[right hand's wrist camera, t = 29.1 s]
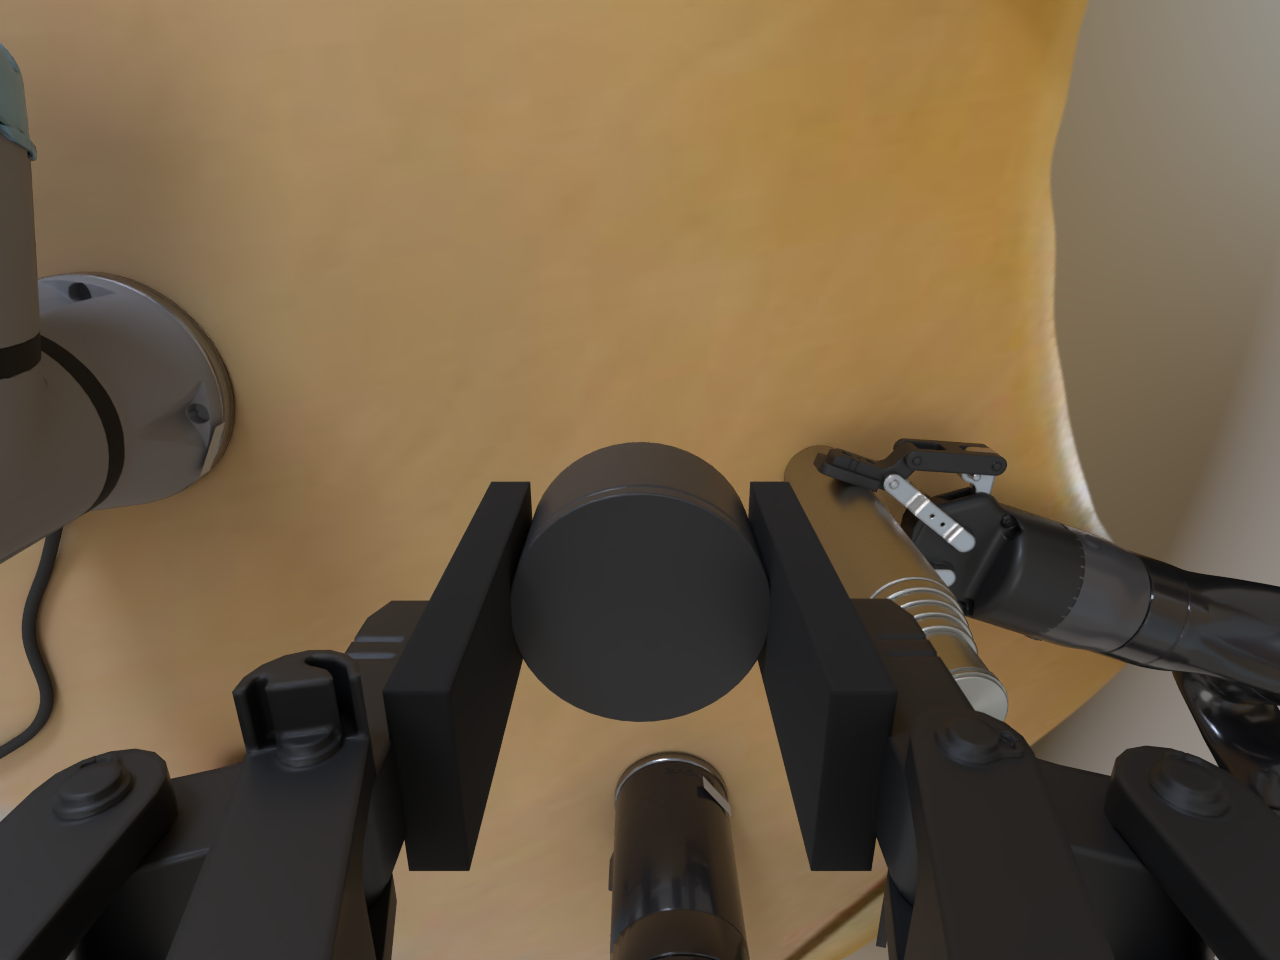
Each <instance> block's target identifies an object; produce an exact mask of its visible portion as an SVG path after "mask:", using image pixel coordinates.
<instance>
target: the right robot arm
mask: <svg viewBox="0 0 1280 960" xmlns="http://www.w3.org/2000/svg"><path fill="white" fill-rule="evenodd" d="M36 158H37V151H36V147H35V145H34V144H33V142H32V141H31V140H30V139H29V129H28V120H27V111H26V102H25V93H24V84H23V78H22V75H21V72H20V69H19V67H18V65H17V63H16V61H15V60H14V58H13V57H12V56H11V54H10V53H9V52H8V51H7V50H6V49H5V47H4V46H3V45H2V44H1V43H0V564H1V563H3V562H4V561H6V560H8V559H9V558H11V557H13V556H14V555H16V554H18V553H19V552H21V551H23V550H24V549H26V548H28V547H29V546H31V545H33V544H35V543H36V542H38V541H40V540H41V539H43V538H45V537H46V539H45V544H44V548H43V552H42V556H41V560H40V564H39V567H38V570H37V573H36V576H35V578H34V581H33V583H32V586H31V589H30V591H29V594H28V597H27V600H26V604H25V608H24V612H23V619H22V638H23V644H24V648H25V652H26V655H27V658H28V661H29V663H30V666H31V668H32V670H33V673H34V675H35V678H36V680H37V683H38V686H39V690H40V706H39V710H38V713H37V715H36V717H35V719H34V721H33V722H32V724H31V725H30V726H29V727H28V728H27V729H26V730H25V731H24V732H23V733H21V734H20V735H19V736H17V737H16V738H14V739H12V740H11V741H9V742H8V743H6V744H4V745H3V746H1V747H0V759H1V758H3V757H4V756H6V755H8V754H9V753H11V752H12V751H14V750H16V749H17V748H19V747H21V746H22V745H24V744H25V743H27V742H28V741H29V740H31V739H32V738H33V737H34V736H35V735H36V734H37V733H38V732H39V731H40V730H41V729H42V727H43V726H44V725H45V723H46V722H47V720H48V718H49V716H50V713H51V710H52V706H53V688H52V684H51V680H50V677H49V674H48V672H47V669H46V667H45V664H44V662H43V659H42V657H41V654H40V651H39V648H38V645H37V640H36V618H37V612H38V608H39V604H40V601H41V598H42V595H43V593H44V590H45V587H46V585H47V582H48V580H49V577H50V575H51V572H52V569H53V565H54V562H55V558H56V554H57V550H58V546H59V542H60V538H61V534H62V530H63V526H65V525H66V524H68V523H70V522H71V521H73V520H75V519H76V518H78V517H79V516H81V515H83V514H85V513H86V512H88V511H93V510H100V509H108V508H116V507H123V506H131V505H138V504H145V503H149V502H153V501H157V500H160V499H163V498H167V497H169V496H172V495H174V494H177V493H179V492H180V491H182V490H184V489H186V488H187V487H189V486H190V485H192V484H193V483H195V482H197V481H198V480H199V479H201V478H202V477H204V476H205V475H206V474H207V473H208V472H209V471H210V470H211V469H212V468H213V467H214V466H215V465H216V464H217V462H218V461H219V460H220V458H221V457H222V455H223V453H224V451H225V449H226V447H227V445H228V442H229V440H230V437H231V433H232V428H233V421H234V401H233V393H232V388H231V383H230V380H229V377H228V374H227V371H226V369H225V366H224V364H223V361H222V359H221V357H220V355H219V354H218V352H217V350H216V348H215V347H214V345H213V343H212V342H211V340H210V339H209V338H208V336H207V335H206V334H205V332H204V331H203V330H202V329H201V327H200V326H199V325H198V324H197V323H196V322H195V321H194V320H193V319H192V318H191V317H190V316H189V315H188V314H187V313H186V312H185V311H184V310H183V309H181V308H180V307H179V306H178V305H177V304H175V303H174V302H172V301H171V300H170V299H168V298H167V297H165V296H164V295H162V294H160V293H159V292H157V291H155V290H154V289H152V288H150V287H148V286H146V285H143V284H141V283H139V282H136V281H134V280H131V279H128V278H124V277H121V276H117V275H112V274H107V273H99V272H76V273H68V274H60V275H53V276H48V277H44V278H40V279H38V278H37V261H36V244H35V226H34V209H33V192H32V175H31V161H35V160H36ZM748 520H749V523H750V526H751V529H752V532H753V535H754V538H755V541H756V544H757V547H758V550H759V553H760V556H761V559H762V562H763V565H764V568H765V570H766V574H767V577H768V581H769V584H770V608H769V622H768V635H767V639H766V642H765V645H764V647H763V649H762V651H761V653H760V655H759V657H758V663H759V667H760V671H761V675H762V679H763V683H764V687H765V691H766V695H767V698H768V702H769V706H770V710H771V714H772V718H773V722H774V726H775V730H776V734H777V738H778V742H779V746H780V750H781V754H782V758H783V762H784V766H785V770H786V773H787V777H788V781H789V785H790V789H791V793H792V797H793V801H794V805H795V809H796V813H797V817H798V821H799V825H800V829H801V833H802V837H803V841H804V845H805V848H806V852H807V856H808V860H809V864H810V868H811V871H871V869H872V862H873V856H874V849H875V843H876V837H877V840H878V842H879V845H880V848H881V851H882V853H883V856H884V859H885V861H886V864H887V867H888V874H887V880H886V886H885V892H884V898H883V905H882V911H881V917H880V923H879V929H878V936H877V943H876V946H879V947H884V948H885V947H886V943H887V944H888V954H889V960H1215V959H1214V957H1215V955H1216V957H1217V958H1218V959H1219V960H1280V817H1279V816H1278V815H1277V814H1276V813H1275V812H1274V811H1273V810H1272V809H1271V808H1270V807H1269V806H1268V805H1266V804H1265V803H1264V802H1263V801H1262V800H1261V799H1260V798H1259V797H1258V796H1257V795H1256V794H1255V793H1254V792H1253V791H1252V790H1251V789H1250V788H1248V787H1247V786H1246V785H1244V784H1243V783H1242V782H1240V781H1239V780H1238V779H1236V778H1235V777H1234V776H1232V775H1231V774H1230V773H1228V772H1227V771H1225V770H1223V769H1221V768H1220V767H1218V766H1216V765H1214V764H1212V763H1210V762H1208V761H1206V760H1204V759H1202V758H1200V757H1197V756H1194V755H1191V754H1189V753H1184V752H1182V751H1177V750H1174V749H1171V748H1163V747H1154V746H1141V747H1136V748H1130V749H1126V750H1125V751H1124V752H1123V753H1122V754H1121V755H1119V756H1118V757H1117V758H1116V760H1115V764H1114V767H1113V771H1112V774H1111V776H1108V775H1103V774H1099V773H1094V772H1090V771H1085V770H1081V769H1076V768H1072V767H1067V766H1062V765H1058V764H1054V763H1051V762H1048V761H1044V760H1041V759H1038V758H1036V757H1035V755H1034V752H1033V751H1032V749H1031V748H1030V746H1029V745H1028V743H1027V742H1026V740H1025V739H1024V737H1023V736H1022V735H1020V734H1019V733H1018V732H1016V731H1015V730H1014V729H1013V728H1011V727H1010V726H1009V725H1008V724H1006V723H1005V722H1003V721H1001V720H998V719H996V718H994V717H992V716H990V715H988V714H986V713H983V712H979V711H975V710H974V708H973V706H972V705H971V703H970V702H969V700H968V699H967V697H966V696H965V694H964V693H963V691H962V690H961V688H960V687H959V685H958V683H957V682H956V680H955V679H954V677H953V676H952V674H951V673H950V671H949V670H948V668H947V667H946V665H945V664H944V662H943V661H942V659H941V657H940V656H937V651H936V650H935V648H934V647H933V645H932V644H931V642H930V641H929V640H927V639H926V634H925V633H924V631H923V630H922V628H921V627H920V625H919V624H918V622H917V621H916V619H915V618H914V616H913V615H912V614H910V613H909V612H907V611H906V610H905V609H903V608H902V607H900V606H899V605H898V604H896V603H895V602H893V601H892V600H891V599H887V598H849V596H848V594H847V592H846V590H845V588H844V586H843V584H842V582H841V580H840V578H839V577H838V575H837V573H836V571H835V569H834V567H833V565H832V563H831V561H830V559H829V557H828V555H827V554H826V552H825V550H824V548H823V546H822V544H821V542H820V540H819V538H818V536H817V534H816V533H815V531H814V529H813V527H812V525H811V523H810V521H809V519H808V517H807V515H806V513H805V511H804V510H803V508H802V506H801V504H800V502H799V500H798V498H797V496H796V494H795V492H794V490H793V488H792V487H791V485H790V483H789V482H750V497H749V514H748ZM531 523H532V506H531V489H530V482H491V484H490V486H489V487H488V489H487V491H486V493H485V495H484V497H483V499H482V501H481V503H480V505H479V507H478V509H477V510H476V512H475V514H474V516H473V518H472V520H471V522H470V524H469V526H468V528H467V530H466V532H465V533H464V535H463V537H462V539H461V541H460V543H459V545H458V547H457V549H456V551H455V553H454V554H453V556H452V558H451V560H450V562H449V564H448V566H447V568H446V570H445V572H444V574H443V576H442V577H441V579H440V581H439V583H438V585H437V587H436V589H435V591H434V593H433V595H432V597H431V599H430V600H429V601H391V602H389V603H388V604H386V605H385V606H384V607H382V608H381V609H379V610H378V611H377V612H375V613H374V614H372V615H371V616H370V617H368V618H367V620H366V621H365V623H364V624H363V626H362V627H361V629H360V630H359V632H358V634H357V635H356V637H355V641H354V642H352V643H351V644H350V646H349V647H348V649H347V651H346V652H345V654H344V653H340V652H336V651H332V650H308V651H303V652H299V653H294V654H289V655H285V656H282V657H280V658H278V659H275V660H273V661H270V662H268V663H265V664H263V665H261V666H260V667H258V668H257V669H255V670H254V671H252V672H251V673H250V674H248V675H247V676H245V677H244V678H243V679H242V680H241V682H240V683H239V684H238V685H237V687H236V688H235V689H234V690H233V692H232V693H233V697H234V701H235V706H236V710H237V714H238V718H239V722H240V727H241V731H242V735H243V739H244V743H245V748H246V752H247V753H246V756H245V759H244V761H243V762H240V763H236V764H233V765H230V766H226V767H223V768H218V769H214V770H209V771H205V772H200V773H196V774H191V775H186V776H182V777H177V778H173V779H170V775H169V772H168V768H167V765H166V762H165V761H164V760H163V759H162V758H161V757H160V756H159V755H157V754H156V753H155V752H151V751H146V750H140V749H128V750H119V751H110V752H107V753H104V754H100V755H98V756H93V757H91V758H88V759H85V760H82V761H80V762H78V763H76V764H74V765H72V766H70V767H68V768H66V769H64V770H62V771H60V772H58V773H57V774H55V775H54V776H52V777H51V778H50V779H48V780H47V781H46V782H44V783H43V784H42V785H40V786H39V787H38V788H36V789H35V790H34V791H33V792H31V793H30V794H29V795H28V796H27V797H26V798H25V799H24V800H23V801H22V802H21V803H20V804H19V805H18V806H17V807H16V808H15V809H14V810H13V811H11V812H10V813H9V814H8V815H7V816H6V817H5V818H4V819H3V820H2V821H1V822H0V960H66V959H67V960H391V956H392V945H393V935H394V925H395V914H396V904H397V900H396V893H395V886H394V880H393V874H392V872H393V869H394V866H395V864H396V861H397V858H398V855H399V853H400V850H401V847H402V845H403V842H404V839H405V846H406V853H407V859H408V866H409V871H469V870H470V866H471V862H472V858H473V854H474V850H475V846H476V842H477V838H478V834H479V831H480V827H481V823H482V819H483V815H484V811H485V807H486V803H487V799H488V795H489V791H490V787H491V783H492V779H493V775H494V771H495V767H496V763H497V759H498V756H499V752H500V748H501V744H502V740H503V736H504V732H505V728H506V724H507V720H508V716H509V712H510V708H511V704H512V700H513V696H514V692H515V688H516V684H517V680H518V677H519V673H520V669H521V665H522V661H523V657H522V656H521V654H520V652H519V649H518V647H517V645H516V642H515V640H514V636H513V629H512V615H511V600H510V590H511V585H512V580H513V577H514V574H515V571H516V568H517V565H518V562H519V559H520V556H521V553H522V550H523V547H524V544H525V541H526V538H527V535H528V532H529V529H530V526H531Z"/></svg>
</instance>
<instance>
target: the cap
mask: <svg viewBox="0 0 1280 960" xmlns="http://www.w3.org/2000/svg"><path fill="white" fill-rule="evenodd" d="M510 600H511V615H512V629H513V636H514V640H515V642H516V645H517V647H518V649H519V652H520V654H521V656H522V657H523V659H524V661H525V662H526V664H527V665H528V667H529V668H530V670H531V671H532V672H533V673H534V675H535V676H536V677H537V678H538V679H539V680H540V681H541V682H542V683H543V684H544V685H545V686H546V687H547V688H548V689H549V690H550V691H552V692H553V693H554V694H556V695H557V696H558V697H560V698H561V699H563V700H564V701H566V702H568V703H570V704H571V705H573V706H575V707H577V708H579V709H582V710H584V711H586V712H589V713H592V714H595V715H598V716H602V717H605V718H610V719H615V720H621V721H633V722H646V721H659V720H666V719H671V718H675V717H679V716H683V715H687V714H689V713H692V712H695V711H697V710H700V709H702V708H704V707H706V706H708V705H710V704H712V703H714V702H715V701H717V700H718V699H720V698H721V697H723V696H724V695H726V694H727V693H728V692H729V691H731V690H732V689H733V688H734V687H735V686H736V685H737V684H739V683H740V681H741V680H742V679H743V678H744V677H745V676H746V675H747V674H748V673H749V671H750V670H751V668H752V667H753V665H754V664H755V662H756V661H757V659H758V657H759V655H760V653H761V651H762V649H763V647H764V645H765V642H766V639H767V635H768V622H769V608H770V584H769V581H768V577H767V574H766V570H765V568H764V565H763V562H762V559H761V556H760V553H759V550H758V547H757V544H756V541H755V538H754V535H753V532H752V529H751V526H750V523H749V520H748V517H747V514H746V511H745V509H744V506H743V504H742V502H741V500H740V498H739V496H738V495H737V493H736V491H735V490H734V488H733V487H732V486H731V484H730V483H729V482H728V481H727V480H726V478H725V477H724V476H723V475H722V474H721V473H720V472H718V471H717V470H716V469H715V468H714V467H713V466H711V465H710V464H708V463H707V462H705V461H704V460H703V459H701V458H699V457H697V456H695V455H693V454H691V453H689V452H687V451H684V450H681V449H679V448H676V447H673V446H668V445H663V444H658V443H647V442H632V443H624V444H618V445H612V446H609V447H606V448H602V449H599V450H597V451H594V452H592V453H590V454H588V455H585V456H584V457H582V458H580V459H579V460H577V461H575V462H574V463H572V464H571V465H570V466H569V467H567V468H566V469H565V470H564V471H562V472H561V473H560V474H559V475H558V476H557V477H556V479H555V480H554V481H553V482H552V483H551V484H550V486H549V487H548V488H547V490H546V491H545V493H544V494H543V496H542V498H541V500H540V502H539V504H538V506H537V509H536V512H535V514H534V517H533V520H532V523H531V526H530V529H529V532H528V535H527V538H526V541H525V544H524V547H523V550H522V553H521V556H520V559H519V562H518V565H517V568H516V571H515V574H514V577H513V580H512V585H511V590H510Z"/></svg>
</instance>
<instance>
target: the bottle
mask: <svg viewBox="0 0 1280 960" xmlns="http://www.w3.org/2000/svg"><path fill="white" fill-rule="evenodd" d="M830 449H834V448H831V447H828V446H813V447H809V448H806V449H804V450H802V451H801V452H799V453H798V454H796V455H795V456H794V457H793V458H792V459H791V461H790V462H789V464H788V466H787V468H786V470H785V474H784V482H789V483H790V485H791V487H792V488H793V490H794V492H795V494H796V496H797V498H798V500H799V502H800V504H801V506H802V508H803V510H804V511H805V513H806V515H807V517H808V519H809V521H810V523H811V525H812V527H813V529H814V531H815V533H816V534H817V536H818V538H819V540H820V542H821V544H822V546H823V548H824V550H825V552H826V554H827V555H828V557H829V559H830V561H831V563H832V565H833V567H834V569H835V571H836V573H837V575H838V577H839V578H840V580H841V582H842V584H843V586H844V588H845V590H846V592H847V594H848V596H849V598H887V599H891V600H892V601H893V602H895V603H896V604H898V605H899V606H900V607H902V608H903V609H905V610H906V611H907V612H909V613H910V614H912V615H913V616H914V618H915V619H916V621H917V622H918V624H919V625H920V627H921V628H922V630H923V631H924V633H925V634H926V639H927V640H929V641H930V642H931V644H932V645H933V647H934V648H935V650H936V651H937V656H940V657H941V659H942V661H943V662H944V664H945V665H946V667H947V668H948V670H949V671H950V673H951V674H952V676H953V677H954V679H955V680H956V682H957V683H958V685H959V687H960V688H961V690H962V691H963V693H964V694H965V696H966V697H967V699H968V700H969V702H970V703H971V705H972V706H973V708H974V710H975V711H979V712H983V713H986V714H988V715H990V716H992V717H994V718H996V719H998V720H1001V721H1004V720H1005V717H1006V715H1007V711H1008V697H1007V692H1006V690H1005V688H1004V686H1003V685H1002V683H1001V682H1000V681H999V679H998V678H997V677H996V676H995V675H994V674H993V673H992V672H990V671H989V670H988V669H987V667H986V666H985V664H984V663H983V662H982V660H981V659H980V658H979V656H978V650H977V647H976V644H975V642H974V640H973V636H972V633H971V631H970V629H969V625H968V623H967V620H966V618H965V616H964V612H963V610H962V608H961V606H960V604H959V603H958V601H957V599H956V597H955V595H954V594H953V592H952V591H951V590H950V589H949V587H948V586H947V585H946V584H945V582H944V581H943V580H942V579H941V577H940V576H939V575H938V574H937V572H936V571H935V570H934V568H933V567H932V566H931V565H930V563H929V562H928V561H927V560H926V558H925V557H924V556H923V555H922V553H921V552H920V551H919V550H918V548H917V547H916V546H915V545H914V543H913V542H912V541H911V539H910V538H909V537H908V536H907V534H906V533H905V532H904V531H903V529H902V528H901V527H900V526H899V524H898V523H897V522H896V521H895V519H894V518H893V517H892V515H891V514H890V513H889V512H888V510H887V509H886V508H885V507H884V505H883V504H882V503H881V502H880V500H879V499H878V498H877V497H876V495H875V494H874V493H873V491H871V490H868V489H865V488H862V487H859V486H856V485H853V484H850V483H847V482H844V481H841V480H838V479H835V478H832V477H829V476H826V475H824V474H822V473H820V472H819V471H818V470H817V469H816V467H815V466H814V464H813V462H814V460H815V458H816V455H817V453H823V454H826V455H827V454H828V452H829V450H830Z"/></svg>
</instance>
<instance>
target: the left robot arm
mask: <svg viewBox="0 0 1280 960" xmlns="http://www.w3.org/2000/svg"><path fill="white" fill-rule="evenodd" d="M893 450H894V451H893V452H892V453H891V454H890V455H889V456H888V457H887V458H885V459H883V460H881V461H874V460H871V459H868V458H865V457H862V456H859V455H856V454H853V453H850V452H847V451H844V450H841V449H830V450H829V452H828V454H827V455H826V454H823V453H817V455H816V458H815V460H814V462H813V464H814V466H815V467H816V469H817V470H818V471H819V472H820V473H822V474H824V475H826V476H829V477H832V478H835V479H838V480H841V481H844V482H847V483H850V484H853V485H856V486H859V487H862V488H865V489H868V490H871V491H874V492H877V490H878V488H880V489H883V490H886V491H887V492H888V493H889V494H890V495H892V496H893V497H894V498H895V499H897V500H898V501H899V502H900V503H902V504H903V505H904V506H905V507H906V508H907V509H906V511H905V513H904V515H903V517H902V522H901V526H900V527H901V528H902V529H903V531H904V532H905V533H906V534H907V536H908V537H909V538H910V539H911V541H912V542H913V543H914V545H915V546H916V547H917V548H918V550H919V551H920V552H921V553H922V555H923V556H924V557H925V558H926V560H927V561H928V562H929V563H930V565H931V566H932V567H933V568H934V570H935V571H936V572H937V574H938V575H939V576H940V577H941V579H942V580H943V581H944V582H945V584H946V585H947V586H948V587H949V589H950V590H951V591H952V592H953V594H954V595H955V597H956V599H957V601H958V603H959V604H960V606H961V608H962V610H963V612H964V616H967V617H970V618H973V619H976V620H979V621H983V622H986V623H989V624H992V625H995V626H998V627H1002V628H1005V629H1008V630H1011V631H1014V632H1018V633H1021V634H1024V635H1025V636H1027V637H1029V638H1031V639H1034V640H1040V641H1042V640H1043V641H1046V642H1049V643H1053V644H1056V645H1060V646H1064V647H1069V648H1075V649H1082V650H1087V651H1091V652H1094V653H1097V654H1100V655H1104V656H1107V657H1110V658H1113V659H1116V660H1119V661H1123V662H1126V663H1130V664H1133V665H1137V666H1140V667H1145V668H1150V669H1156V670H1164V671H1172V673H1173V676H1174V678H1175V680H1176V683H1177V685H1178V688H1179V690H1180V692H1181V694H1182V696H1183V698H1184V700H1185V702H1186V704H1187V706H1188V708H1189V710H1190V712H1191V714H1192V716H1193V718H1194V720H1195V722H1196V724H1197V726H1198V728H1199V730H1200V732H1201V734H1202V736H1203V738H1204V740H1205V742H1206V744H1207V746H1208V748H1209V750H1210V751H1211V753H1212V755H1213V757H1214V759H1215V761H1216V762H1217V764H1218V766H1219V767H1220V768H1221V769H1223V770H1225V771H1227V772H1228V773H1230V774H1231V775H1232V776H1234V777H1235V778H1236V779H1238V780H1239V781H1240V782H1242V783H1243V784H1244V785H1246V786H1247V787H1248V788H1250V789H1251V790H1252V791H1253V792H1254V793H1255V794H1256V795H1257V796H1258V797H1259V798H1260V799H1261V800H1262V801H1263V802H1264V803H1265V804H1266V805H1268V806H1269V807H1270V808H1271V809H1272V810H1273V811H1274V812H1275V813H1276V814H1277V815H1278V816H1279V817H1280V710H1279V709H1278V707H1277V705H1278V706H1280V587H1278V586H1273V585H1268V584H1262V583H1257V582H1251V581H1245V580H1240V579H1234V578H1227V577H1220V576H1213V575H1206V574H1200V573H1194V572H1189V571H1185V570H1182V569H1180V568H1177V567H1175V566H1173V565H1170V564H1167V563H1164V562H1162V561H1159V560H1155V559H1153V558H1150V557H1147V556H1144V555H1141V554H1138V553H1135V552H1132V551H1128V550H1126V549H1124V548H1121V547H1119V546H1117V545H1115V544H1114V543H1112V542H1110V541H1108V540H1106V539H1103V538H1101V537H1099V536H1096V535H1094V534H1091V533H1088V532H1085V531H1082V530H1079V529H1076V528H1073V527H1070V526H1067V525H1064V524H1061V523H1058V522H1055V521H1052V520H1049V519H1046V518H1043V517H1040V516H1037V515H1034V514H1031V513H1028V512H1025V511H1023V510H1020V509H1017V508H1014V507H1011V506H1008V505H1005V504H1002V503H999V502H997V500H996V499H995V498H994V497H993V496H992V495H990V494H991V490H992V487H993V483H994V479H995V476H998V475H1000V474H1002V473H1003V472H1004V471H1005V470H1006V467H1007V462H1006V460H1005V459H1004V458H1003V457H1001V456H1000V455H999V454H997V453H996V452H995V451H993V450H992V449H990V448H989V447H987V446H986V445H984V444H975V443H961V442H947V441H933V440H919V439H900V440H898V441H897V442H896V443H895V445H894V448H893ZM915 470H918V471H932V472H946V473H957V475H958V476H960V477H961V478H962V479H963V480H964V481H965V482H968V483H970V487H967V488H963V489H959V490H956V491H952V492H948V493H945V494H941V495H937V496H934V497H930V496H929V495H928V494H926V493H925V492H924V491H923V490H922V489H920V488H919V487H918V486H917V485H915V484H914V483H913V482H912V481H910V480H909V479H908V477H909V476H910V475H911V474H912V473H913V472H914V471H915ZM615 812H616V815H615V836H614V852H613V854H612V856H611V859H610V867H609V890H610V891H612V915H611V941H610V960H750V958H749V952H748V946H747V939H746V932H745V925H744V918H743V911H742V904H741V897H740V890H739V883H738V876H737V869H736V862H735V855H734V848H733V841H732V834H731V826H730V819H729V814H730V815H731V816H732V813H731V806H730V804H729V803H728V797H727V790H726V786H725V783H724V781H723V779H722V777H721V776H720V774H719V773H718V772H717V771H716V770H715V769H714V768H713V767H712V766H711V765H710V764H708V763H707V762H705V761H703V760H701V759H699V758H697V757H694V756H691V755H687V754H681V753H662V754H657V755H653V756H650V757H647V758H644V759H642V760H640V761H638V762H637V763H635V764H634V765H632V766H631V767H630V768H629V769H628V770H627V771H626V772H625V773H624V774H623V775H622V777H621V778H620V780H619V782H618V784H617V787H616V791H615Z"/></svg>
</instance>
